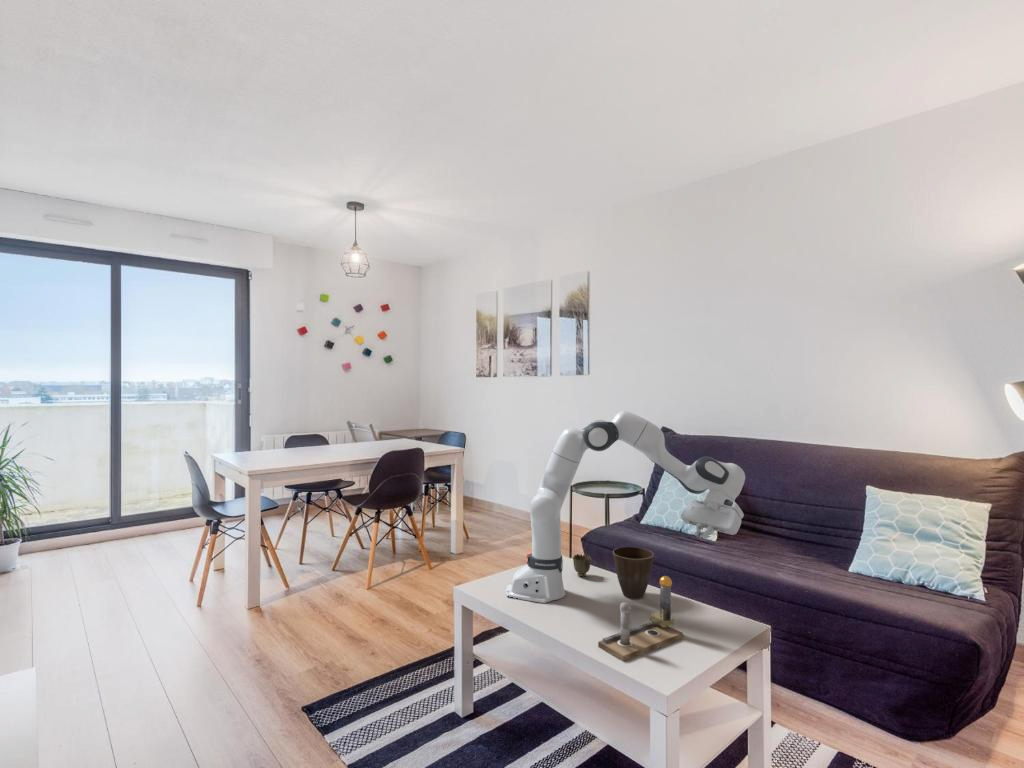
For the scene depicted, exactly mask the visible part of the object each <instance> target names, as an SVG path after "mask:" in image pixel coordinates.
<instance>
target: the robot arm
mask: <svg viewBox="0 0 1024 768" xmlns="http://www.w3.org/2000/svg"><path fill="white" fill-rule="evenodd" d="M665 439H666V438H665V435H664V432H663V430H662V429H660V427H659V426H657V425H656V424H654V423H653V422H651V421H649V420H647V419H645V418H643V417H641V416H640V415H637V414H636V413H632V412H630V411H626V410H622V411H619V412H617V413H616V414H615V415H614V417H613V418H612V420H610V421H606V420H603V419H596V420H593V421H591V422H590V423H588V424H587V426H585V427H584V428H583V429H577V428H573V427H570V428H569V427H568V428H565V429H564V430H563V431H562V432H561V434H560V436H559V438H557V441H556V443H555V445H554V447H553V450H552V452H551V454H550V456H549V459H548V462H547V465H546V466H545V469H544V471H543V475H542V477H541V481H540V483H539V486H538V487H537V491H536V493H535V494H534V495H533V497H532V499H531V501H530V504H529V511H530V515H529V516H530V528H531V551H528V553H527V554H526V564H525V565H523V566H521V568H519V569H518V570H517V571H515V573H514V574H513V576H512V580H511V583H509V584H508V585H507V586H506V588H505V592H504V594H506V595H507V596H509V597H508V598H510V597H513V598H512V599H516V598H518V599H517V600H523V601H530V602H535V603H541V604H546V603H549V602H552V601H555V600H560V599H562V598H564V597H565V596H566V591H565V586H564V581H563V573H562V572H563V566H564V563H563V561H564V560H563V554H562V530H561V529H562V528H561V527H562V524H561V510H562V507H563V505H564V502H565V500H566V498H567V496H568V492H569V490H570V487H571V485H572V482H573V481H574V478H575V476H576V474H577V473H576V472H578V471H577V470H578V468H579V466H580V464H581V462H582V461H581V460H582V458H583V456H584V454H585V452H586V451H587V450H588V449H590V450H591V451H595V452H602V451H606V450H608V449H609V448H610V447H611V446H612V445H614V444H615V443H616V442H617V441H622V442H624V443H626V444H627V445H629V446H631V447H633V449H635V450H637V451H638V452H641V453H642V454H643V455H644V456H646V457H647V459H649V460H650V461H651V462H653V463H654V465H656V466H658V467H659V468H661V469H662V470H663V471H664V472H666V473H668V474H669V475H671V477H673V478H674V479H676V480H677V481H678V482H679V483H680V484H681V486H682V487H683V488H684V489H685V490H686V491H688V492H689V493H691V494H695V495H700V494H702V493H704V492H705V493H706V491H707V490H709V491H708V493H707V494H706V497H705V498H704V500H703V501H700V500H696V499H695V500H692V501H690V502H689V503H688V504H687V505H686V507H685V508H684V510H683V511H682V513H681V515H680V518H681V520H682V521H683V523H685V524H687V525H690V526H695V527H696V531H695V534H694V536H695V537H696V538H697V539H702V540H707V539H708V537H709V536H710V535H712V534H713V533H714V532H715V531H716V532H719V533H724V534H727V535H732V536H733V535H736V534H737V533H738V531H739V530H740V527H741V525H742V519H743V518H744V516H745V514H744V512H743V511H742V508H740V506H739V504H737V502H735V501H736V499H737V498H738V496H740V494H741V491H742V489H743V487H744V484H745V480H746V473H745V472H744V470H743V468H741V466H739V465H738V464H736V463H733V462H722V461H718V460H717V459H715V458H714V457H712V456H706V455H705V456H701V457H699V458H697V460H695V461H694V462H693V463H692V464H691V465H688V464H685V463H684V462H682V461H681V460H679V459H678V458H676V457H675V456H673V454H670V452H669V451H668V450H667V448H666V443H665ZM703 529H706V530H704V531H702V530H703ZM506 595H505V596H506ZM507 596H506V597H507Z"/></svg>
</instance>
